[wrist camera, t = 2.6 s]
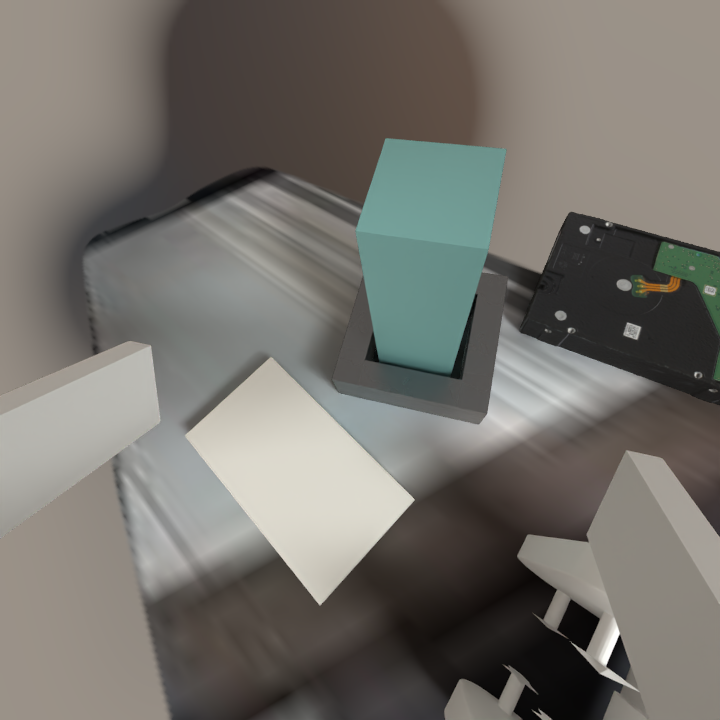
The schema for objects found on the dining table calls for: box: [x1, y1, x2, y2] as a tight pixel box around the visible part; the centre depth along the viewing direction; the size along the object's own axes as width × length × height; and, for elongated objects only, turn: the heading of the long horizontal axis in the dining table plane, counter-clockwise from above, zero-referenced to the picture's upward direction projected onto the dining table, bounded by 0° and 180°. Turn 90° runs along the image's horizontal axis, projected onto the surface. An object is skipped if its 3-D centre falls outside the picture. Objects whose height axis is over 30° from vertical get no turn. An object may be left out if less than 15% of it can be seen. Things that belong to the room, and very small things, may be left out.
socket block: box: [332, 273, 508, 424], centre depth 28 cm, size 10×10×3 cm
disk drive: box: [519, 212, 720, 405], centre depth 27 cm, size 10×3×15 cm
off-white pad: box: [185, 357, 415, 605], centre depth 26 cm, size 14×8×2 cm, turn 45°
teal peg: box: [356, 138, 506, 378], centre depth 22 cm, size 5×5×15 cm
